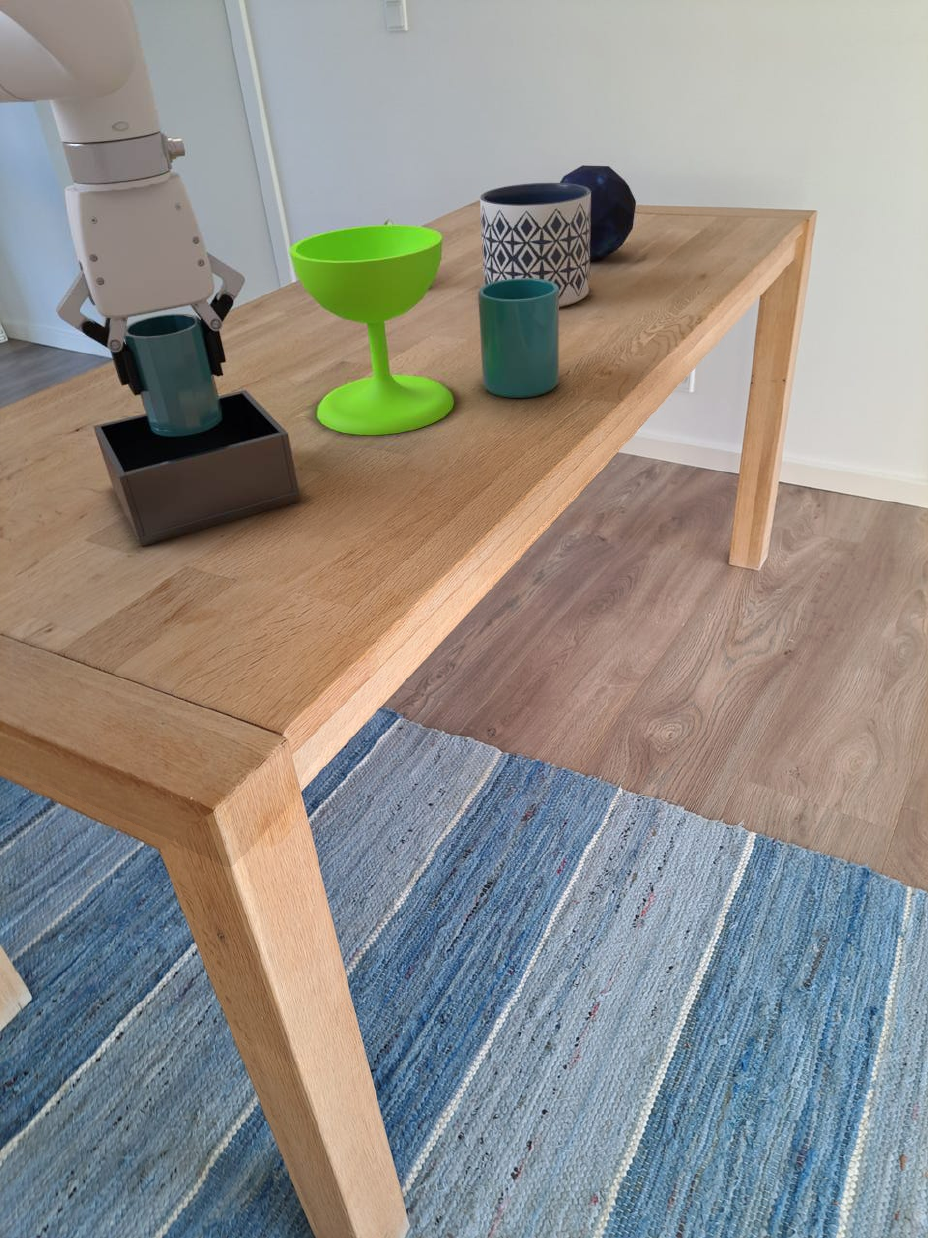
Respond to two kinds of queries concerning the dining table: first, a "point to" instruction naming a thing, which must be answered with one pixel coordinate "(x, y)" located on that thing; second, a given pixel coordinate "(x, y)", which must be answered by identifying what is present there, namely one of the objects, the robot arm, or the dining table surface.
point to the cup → (519, 336)
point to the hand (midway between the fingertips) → (175, 379)
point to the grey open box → (199, 470)
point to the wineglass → (374, 319)
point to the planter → (538, 236)
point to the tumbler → (174, 374)
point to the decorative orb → (605, 208)
